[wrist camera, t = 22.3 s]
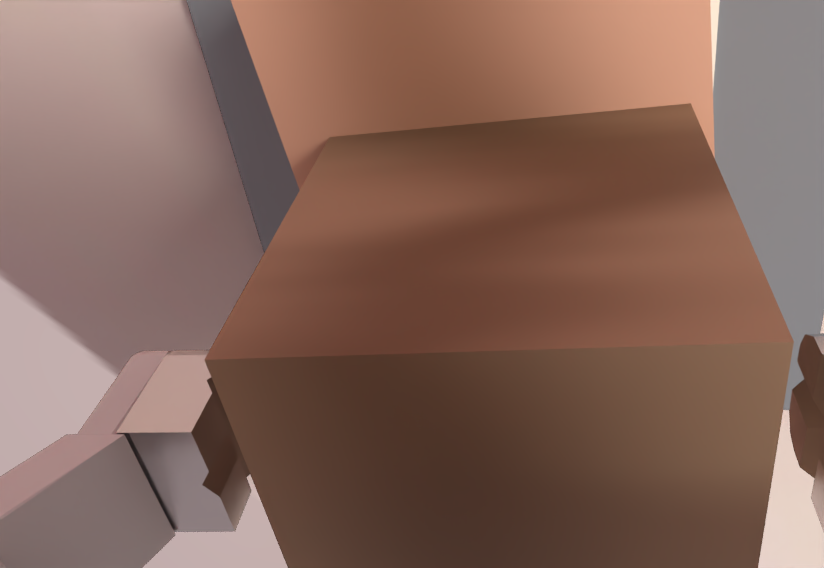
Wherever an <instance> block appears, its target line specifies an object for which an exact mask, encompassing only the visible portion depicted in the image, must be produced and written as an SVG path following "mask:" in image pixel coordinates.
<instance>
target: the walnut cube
mask: <svg viewBox="0 0 824 568" xmlns="http://www.w3.org/2000/svg"><path fill="white" fill-rule="evenodd" d="M793 344H794V341H793V339H792V336H791V334H790V332H789V329H788V327H787V325H786V322H785V320H784V318H783V315H782V313H781V311H780V309H779V306H778V304H777V302H776V299H775V297H774V295H773V292H772V290H771V288H770V285H769V283H768V281H767V278H766V276H765V274H764V272H763V269H762V267H761V265H760V262H759V260H758V258H757V255H756V253H755V251H754V248H753V246H752V244H751V242H750V239H749V237H748V235H747V232H746V230H745V228H744V225H743V223H742V221H741V218H740V216H739V214H738V211H737V209H736V207H735V205H734V202H733V200H732V198H731V195H730V193H729V191H728V188H727V186H726V184H725V181H724V179H723V177H722V175H721V172H720V170H719V168H718V165H717V163H716V161H715V158H714V156H713V154H712V151H711V149H710V147H709V144H708V142H707V140H706V138H705V135H704V133H703V131H702V128H701V126H700V124H699V121H698V119H697V117H696V114H695V112H694V110H693V108H692V105H691V103H689V104H679V105H668V106H657V107H647V108H636V109H625V110H614V111H604V112H593V113H582V114H572V115H561V116H550V117H539V118H529V119H518V120H507V121H497V122H486V123H475V124H464V125H454V126H443V127H432V128H422V129H411V130H400V131H389V132H379V133H368V134H357V135H347V136H336V137H330V138H329V139H328V141H327V143H326V145H325V147H324V148H323V150H322V152H321V154H320V155H319V157H318V159H317V161H316V162H315V164H314V166H313V168H312V170H311V171H310V173H309V175H308V177H307V178H306V180H305V182H304V184H303V186H302V187H301V189H300V191H299V193H298V194H297V196H296V198H295V200H294V202H293V203H292V205H291V207H290V209H289V210H288V212H287V214H286V216H285V218H284V219H283V221H282V223H281V225H280V226H279V228H278V230H277V232H276V233H275V235H274V237H273V239H272V241H271V242H270V244H269V246H268V248H267V249H266V251H265V253H264V255H263V257H262V258H261V260H260V262H259V264H258V265H257V267H256V269H255V271H254V273H253V274H252V276H251V278H250V280H249V281H248V283H247V285H246V287H245V289H244V290H243V292H242V294H241V296H240V297H239V299H238V301H237V303H236V304H235V306H234V308H233V310H232V312H231V313H230V315H229V317H228V319H227V320H226V322H225V324H224V326H223V328H222V329H221V331H220V333H219V335H218V336H217V338H216V340H215V342H214V344H213V345H212V347H211V349H210V351H209V352H208V354H207V356H206V358H205V363H206V365H207V368H208V370H209V373H210V375H211V378H212V380H213V382H214V385H215V387H216V390H217V392H218V395H219V397H220V400H221V402H222V405H223V407H224V410H225V412H226V415H227V417H228V420H229V422H230V425H231V427H232V430H233V432H234V435H235V437H236V440H237V442H238V445H239V447H240V450H241V452H242V455H243V457H244V459H245V462H246V464H247V467H248V469H249V472H250V474H251V477H252V479H253V482H254V484H255V487H256V489H257V492H258V494H259V497H260V499H261V502H262V504H263V507H264V509H265V512H266V514H267V516H268V519H269V522H270V524H271V526H272V529H273V531H274V534H275V536H276V539H277V541H278V544H279V546H280V549H281V551H282V554H283V556H284V559H285V561H286V564H287V566H288V568H758V563H759V557H760V551H761V544H762V538H763V532H764V526H765V519H766V513H767V507H768V501H769V494H770V488H771V482H772V476H773V469H774V463H775V457H776V451H777V444H778V438H779V432H780V425H781V419H782V413H783V407H784V400H785V394H786V388H787V382H788V375H789V369H790V363H791V357H792V350H793Z"/></svg>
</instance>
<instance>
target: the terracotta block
mask: <svg viewBox="0 0 824 568" xmlns="http://www.w3.org/2000/svg"><path fill="white" fill-rule="evenodd" d="M231 2H232V5H233V8H234V11H235V13H236V16H237V19H238V22H239V25H240V27H241V30H242V33H243V36H244V38H245V41H246V44H247V47H248V49H249V52H250V55H251V58H252V60H253V63H254V66H255V69H256V71H257V74H258V77H259V80H260V82H261V85H262V88H263V91H264V93H265V96H266V99H267V102H268V104H269V107H270V110H271V113H272V115H273V118H274V121H275V124H276V127H277V129H278V132H279V135H280V138H281V140H282V143H283V146H284V149H285V151H286V154H287V157H288V160H289V162H290V165H291V168H292V171H293V173H294V176H295V179H296V182H297V184H298V187H299V190H300V189H301V187H302V186H303V184H304V182H305V180H306V178H307V177H308V175H309V173H310V171H311V170H312V168H313V166H314V164H315V162H316V161H317V159H318V157H319V155H320V154H321V152H322V150H323V148H324V147H325V145H326V143H327V141H328V139H329V138H330V137H336V136H347V135H357V134H368V133H379V132H389V131H400V130H411V129H422V128H432V127H443V126H454V125H464V124H475V123H486V122H497V121H507V120H518V119H529V118H539V117H550V116H561V115H572V114H582V113H593V112H604V111H614V110H625V109H636V108H647V107H657V106H668V105H679V104H689V103H691V105H692V108H693V110H694V112H695V114H696V117H697V119H698V121H699V124H700V126H701V128H702V131H703V133H704V135H705V138H706V140H707V142H708V144H709V147H710V149H711V151H712V154H713V156H714V158H715V149H714V113H713V78H712V42H711V7H710V0H231Z"/></svg>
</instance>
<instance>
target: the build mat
mask: <svg viewBox="0 0 824 568" xmlns="http://www.w3.org/2000/svg"><path fill="white" fill-rule="evenodd" d="M187 3H188V7H189V10H190V13H191V16H192V20H193V23H194V26H195V29H196V33H197V36H198V39H199V42H200V46H201V49H202V52H203V55H204V59H205V62H206V65H207V68H208V72H209V75H210V78H211V81H212V85H213V88H214V91H215V94H216V98H217V101H218V104H219V107H220V111H221V114H222V117H223V120H224V124H225V127H226V130H227V133H228V137H229V140H230V143H231V146H232V150H233V153H234V156H235V159H236V163H237V166H238V169H239V172H240V176H241V179H242V182H243V185H244V189H245V192H246V195H247V198H248V202H249V205H250V208H251V211H252V215H253V218H254V221H255V224H256V228H257V231H258V234H259V237H260V241H261V244H262V247H263V250H264V253H265V251H266V249H267V248H268V246H269V244H270V242H271V241H272V239H273V237H274V235H275V233H276V232H277V230H278V228H279V226H280V225H281V223H282V221H283V219H284V218H285V216H286V214H287V212H288V210H289V209H290V207H291V205H292V203H293V202H294V200H295V198H296V196H297V194H298V193H299V191H300V190H299V187H298V184H297V182H296V179H295V176H294V173H293V171H292V168H291V165H290V162H289V160H288V157H287V154H286V151H285V149H284V146H283V143H282V140H281V138H280V135H279V132H278V129H277V127H276V124H275V121H274V118H273V115H272V113H271V110H270V107H269V104H268V102H267V99H266V96H265V93H264V91H263V88H262V85H261V82H260V80H259V77H258V74H257V71H256V69H255V66H254V63H253V60H252V58H251V55H250V52H249V49H248V47H247V44H246V41H245V38H244V36H243V33H242V30H241V27H240V25H239V22H238V19H237V16H236V13H235V11H234V8H233V5H232V2H231V0H187ZM710 7H711V42H712V78H713V113H714V149H715V161H716V163H717V165H718V168H719V170H720V172H721V175H722V177H723V179H724V181H725V184H726V186H727V188H728V191H729V193H730V195H731V198H732V200H733V202H734V205H735V207H736V209H737V211H738V214H739V216H740V218H741V221H742V223H743V225H744V228H745V230H746V232H747V235H748V237H749V239H750V242H751V244H752V246H753V248H754V251H755V253H756V255H757V258H758V260H759V262H760V265H761V267H762V269H763V272H764V274H765V276H766V278H767V281H768V283H769V285H770V288H771V290H772V292H773V295H774V297H775V299H776V302H777V304H778V306H779V309H780V311H781V313H782V315H783V318H784V320H785V322H786V325H787V327H788V329H789V332H790V334H791V336H792V339H793V341H794V344H793V350H792V357H791V363H790V369H789V375H788V382H787V388H786V394H785V400H784V407H783V410H789V409H790V402H791V394H792V389H793V388H794V387H796V386H797V385H798V384H799V383H800V382H801V381H802V380H804V377H803V374H802V372H801V369H800V367H799V364H798V362H797V359H798V353H799V348H800V344H801V342H802V340H803V338H804V336H805V334H820V331H821V326H822V320H823V315H824V0H710Z"/></svg>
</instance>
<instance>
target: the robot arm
mask: <svg viewBox="0 0 824 568" xmlns="http://www.w3.org/2000/svg"><path fill="white" fill-rule="evenodd" d="M209 351H210V350H174V351H141V352H139V353H137V354H135V355H133V356H131V358H130V359H129V361H128V362H127V364H126V365H125V366H124V368H123V369H122V371H121V372H120V374H119V375H118V376H117V378H116V379H115V381H114V382H113V384H112V385H111V387H110V388H109V389H108V391H107V392H106V394H105V395H104V397H103V398H102V400H101V401H100V402H99V404H98V405H97V407H96V408H95V410H94V411H93V412H92V414H91V415H90V417H89V418H88V419H87V421H86V422H85V424H84V425H83V427H82V428H81V430H80V431H79V432H78V434H73V435H65V436H64V437H62V438H60V439H59V440H57V441H56V442H54V443H53V444H51V445H49V446H48V447H46V448H45V449H43V450H41V451H40V452H38V453H37V454H35V455H34V456H32V457H30V458H29V459H27V460H26V461H24V462H23V463H21V464H19V465H18V466H17V467H15V468H13V469H11V470H10V471H8V472H7V473H5V474H3V475H2V476H0V568H142V567H143V566H144V565H145V564H146V563H147V562H149V560H151V559H152V558H153V557H154V556H155V555H156V554H157V553H158V552H159V551H160V550H161V549H162V548H163V547H164V546H165V545H166V544H167V543H168V542H169V541H170V540H171V539H172V538H173V537H174V536H175V532H196V531H197V532H214V531H215V532H217V531H218V532H219V531H221V532H222V531H235V530H236V528H237V525H238V523H239V520H240V518H241V515H242V513H243V510H244V508H245V505H246V503H247V500H248V498H249V496H250V493H251V488H250V486H249V483H248V480H247V478H246V477H247V476H248V475H250V472H249V469H248V467H247V464H246V462H245V459H244V457H243V455H242V452H241V450H240V447H239V445H238V442H237V440H236V437H235V435H234V432H233V430H232V427H231V425H230V422H229V420H228V417H227V415H226V412H225V410H224V407H223V405H222V402H221V400H220V397H219V395H218V392H217V390H216V387H215V385H214V382H213V380H212V378H211V375H210V373H209V370H208V368H207V365H206V363H205V358H206V356H207V354H208V352H209ZM797 362H798V364H799V367H800V369H801V372H802V374H803V377H804V380H802V381H801V382H800V383H799V384H798V385H797V386H796V387H794V388H793V389H792V394H791V402H790V409H789V415H790V434H791V438H792V443H793V448H794V451H795V454H796V457H797V460H798V463H799V466H800V468H802V469H803V470H804V471H806V472H807V473H808V474H810V475H811V476H812V477H814V478H815V480H814V485H813V490H812V495H811V499H812V502H813V504H814V507H815V510H816V513H817V515H818V518H819V521H820V523H821V526H822V529H823V531H824V334H805V336H804V338H803V340H802V342H801V344H800V348H799V353H798V359H797Z"/></svg>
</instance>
